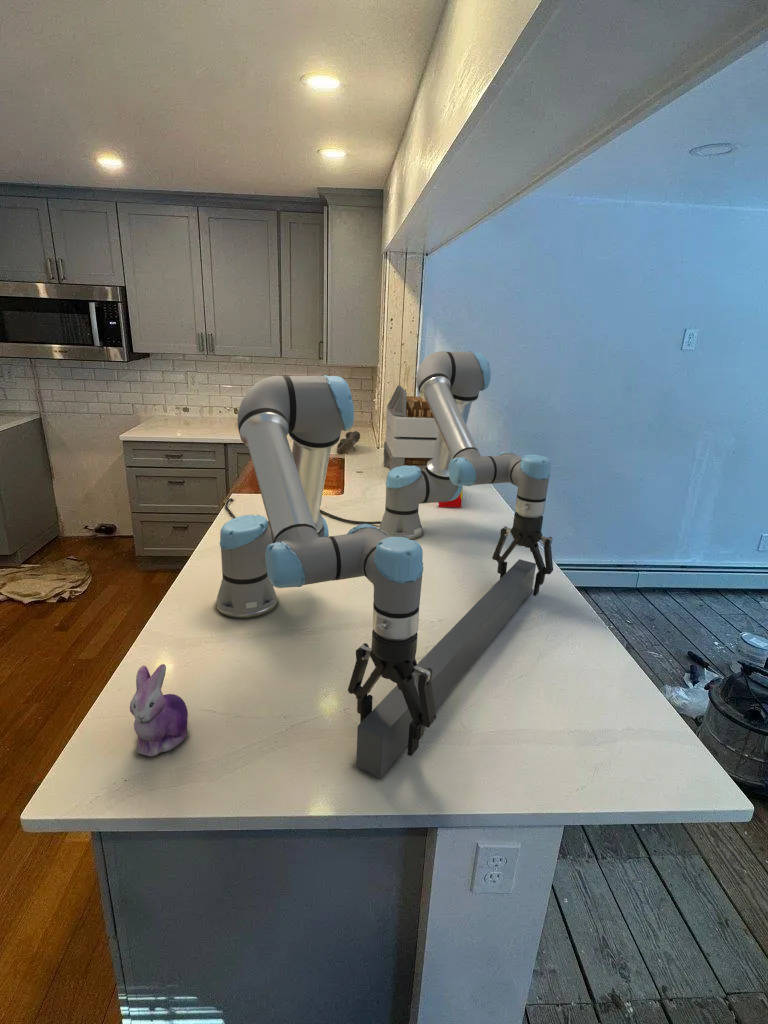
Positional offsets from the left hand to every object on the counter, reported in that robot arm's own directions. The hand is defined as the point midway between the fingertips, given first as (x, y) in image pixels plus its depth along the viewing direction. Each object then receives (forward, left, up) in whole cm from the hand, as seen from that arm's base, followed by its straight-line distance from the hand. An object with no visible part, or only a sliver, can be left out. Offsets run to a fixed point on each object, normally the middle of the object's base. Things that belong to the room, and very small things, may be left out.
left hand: (388, 739), depth 101 cm
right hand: (-47, +53, 0) cm, 71 cm away
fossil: (-221, +45, -3) cm, 226 cm away
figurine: (-12, -39, -3) cm, 41 cm away
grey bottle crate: (-171, +68, -3) cm, 185 cm away
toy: (-135, +67, -3) cm, 150 cm away
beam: (-24, +26, -3) cm, 35 cm away
